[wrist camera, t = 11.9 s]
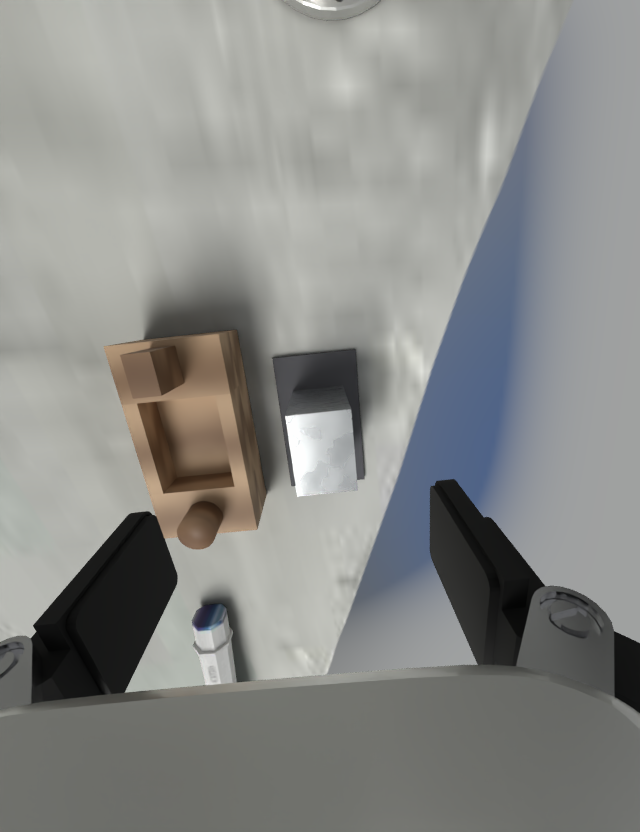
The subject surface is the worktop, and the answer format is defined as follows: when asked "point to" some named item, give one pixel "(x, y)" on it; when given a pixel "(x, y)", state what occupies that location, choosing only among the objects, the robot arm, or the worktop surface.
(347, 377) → the rubber mat
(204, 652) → the electric toothbrush
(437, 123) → the worktop surface
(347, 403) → the silver block
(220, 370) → the body
